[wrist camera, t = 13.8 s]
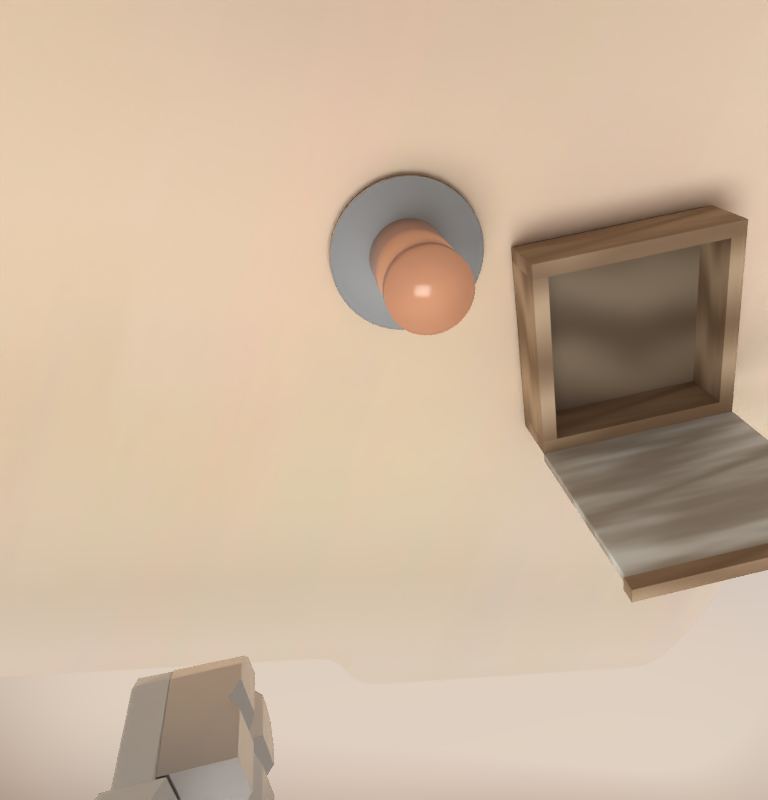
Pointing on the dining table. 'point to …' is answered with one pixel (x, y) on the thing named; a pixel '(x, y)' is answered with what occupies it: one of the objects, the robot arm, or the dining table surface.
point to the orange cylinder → (421, 277)
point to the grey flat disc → (378, 211)
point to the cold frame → (646, 394)
